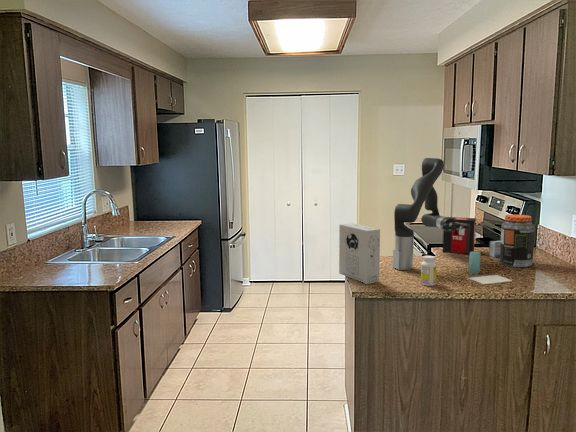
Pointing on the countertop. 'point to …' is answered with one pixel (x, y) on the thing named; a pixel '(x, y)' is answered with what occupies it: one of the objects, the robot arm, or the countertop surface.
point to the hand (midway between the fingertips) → (463, 228)
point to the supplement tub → (517, 241)
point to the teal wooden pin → (474, 262)
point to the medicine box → (494, 248)
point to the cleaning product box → (460, 238)
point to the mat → (489, 279)
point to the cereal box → (359, 252)
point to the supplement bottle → (428, 271)
